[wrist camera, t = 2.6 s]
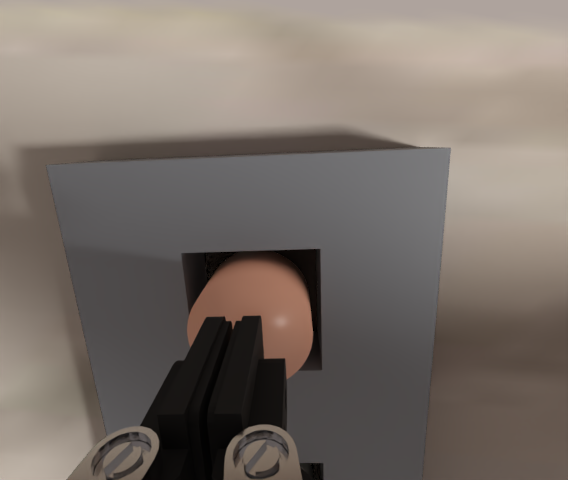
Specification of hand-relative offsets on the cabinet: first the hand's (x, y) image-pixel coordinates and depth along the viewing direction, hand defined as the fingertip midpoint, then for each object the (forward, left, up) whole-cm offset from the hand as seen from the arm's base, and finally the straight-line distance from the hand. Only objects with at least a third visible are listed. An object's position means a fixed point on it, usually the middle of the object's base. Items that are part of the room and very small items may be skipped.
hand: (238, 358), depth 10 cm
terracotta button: (0, 0, -4) cm, 4 cm away
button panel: (0, +10, -6) cm, 12 cm away
